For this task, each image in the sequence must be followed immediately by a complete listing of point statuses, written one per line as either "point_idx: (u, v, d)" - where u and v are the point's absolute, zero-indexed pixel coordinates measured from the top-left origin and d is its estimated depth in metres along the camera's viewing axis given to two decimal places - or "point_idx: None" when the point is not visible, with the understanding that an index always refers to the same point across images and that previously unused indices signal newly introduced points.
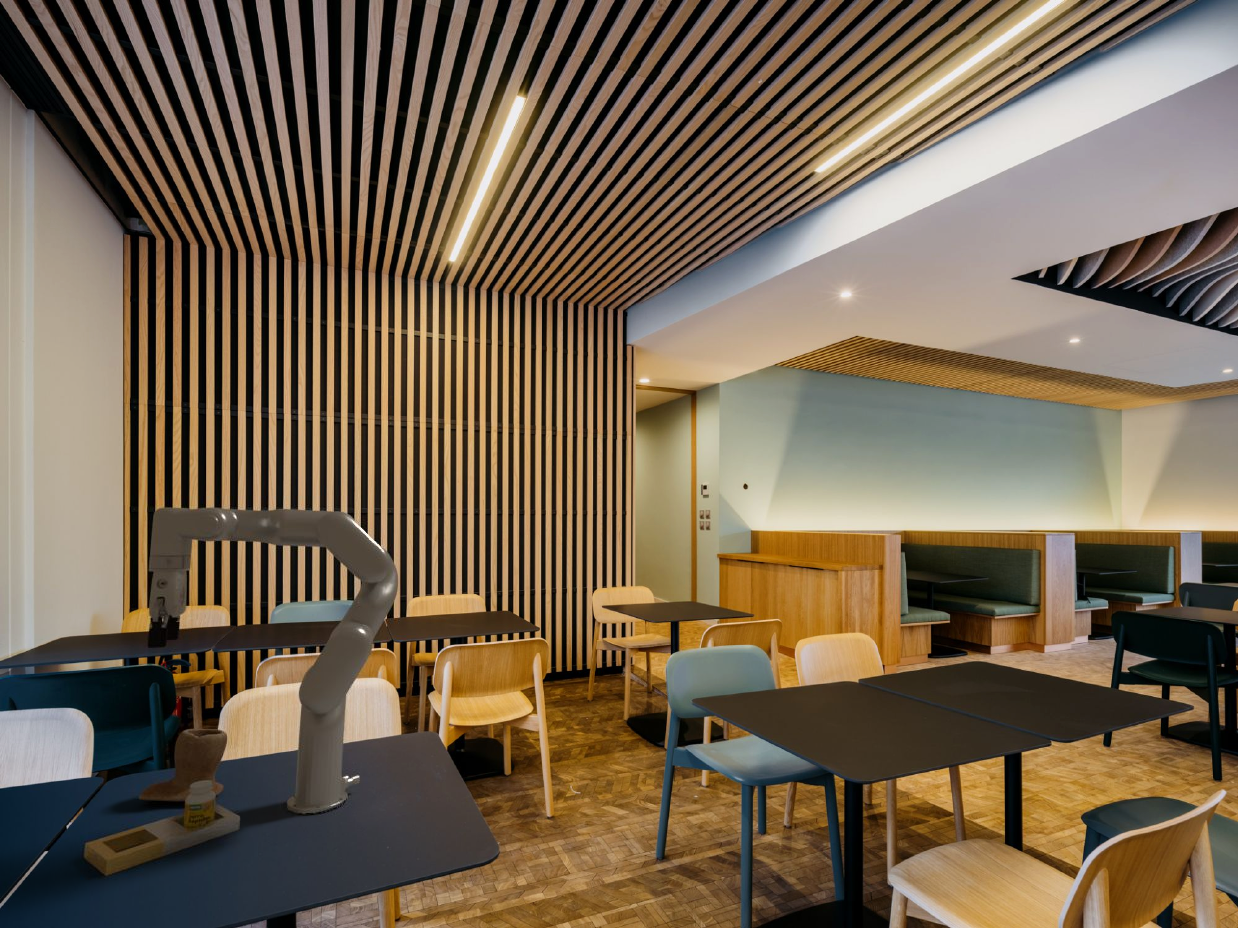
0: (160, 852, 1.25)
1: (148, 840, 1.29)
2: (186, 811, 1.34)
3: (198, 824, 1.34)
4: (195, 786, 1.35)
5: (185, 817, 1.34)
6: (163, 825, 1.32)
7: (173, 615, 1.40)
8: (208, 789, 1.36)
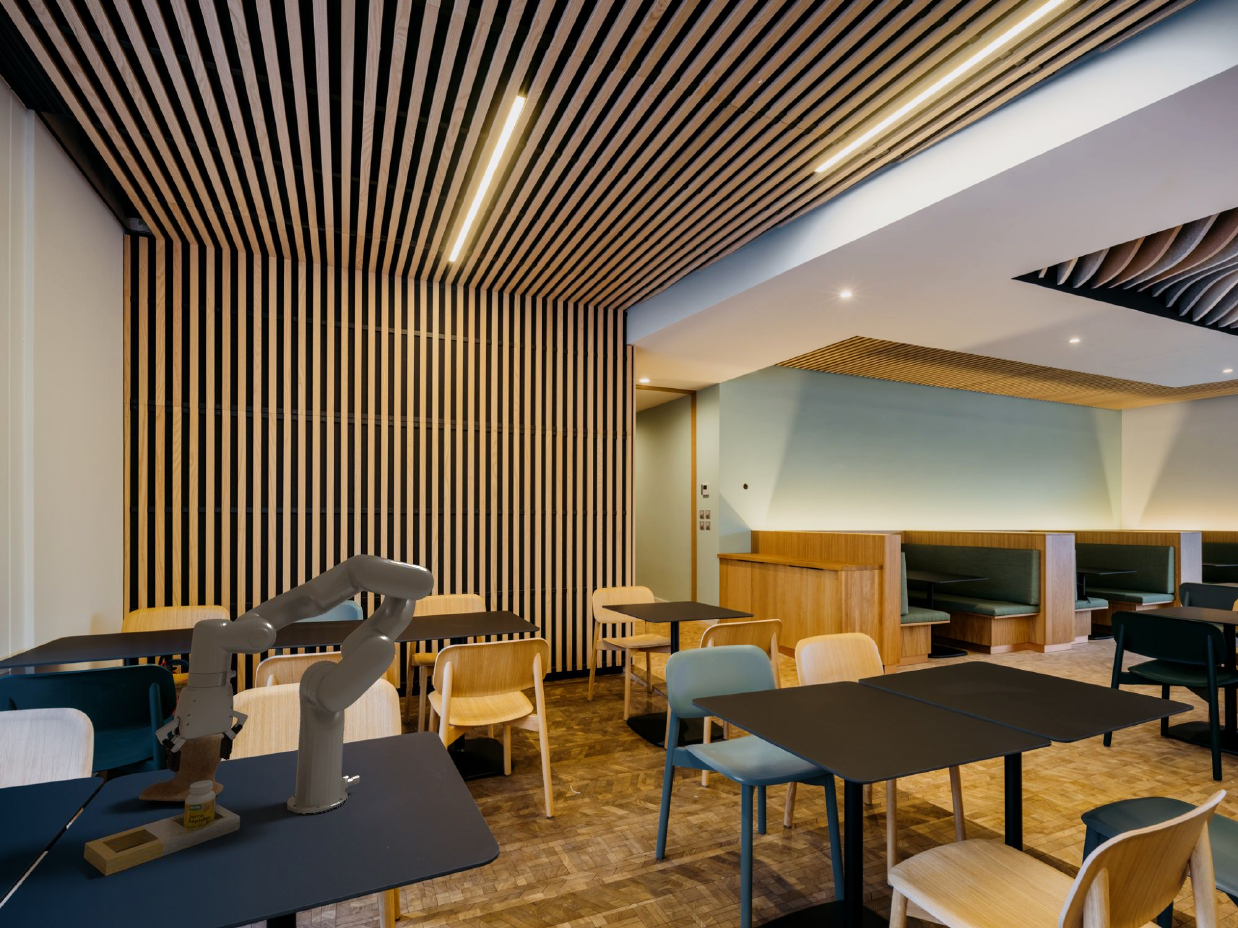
0: (160, 852, 1.25)
1: (148, 840, 1.29)
2: (186, 811, 1.34)
3: (198, 824, 1.34)
4: (195, 786, 1.35)
5: (185, 817, 1.34)
6: (163, 825, 1.32)
7: None
8: (208, 789, 1.36)
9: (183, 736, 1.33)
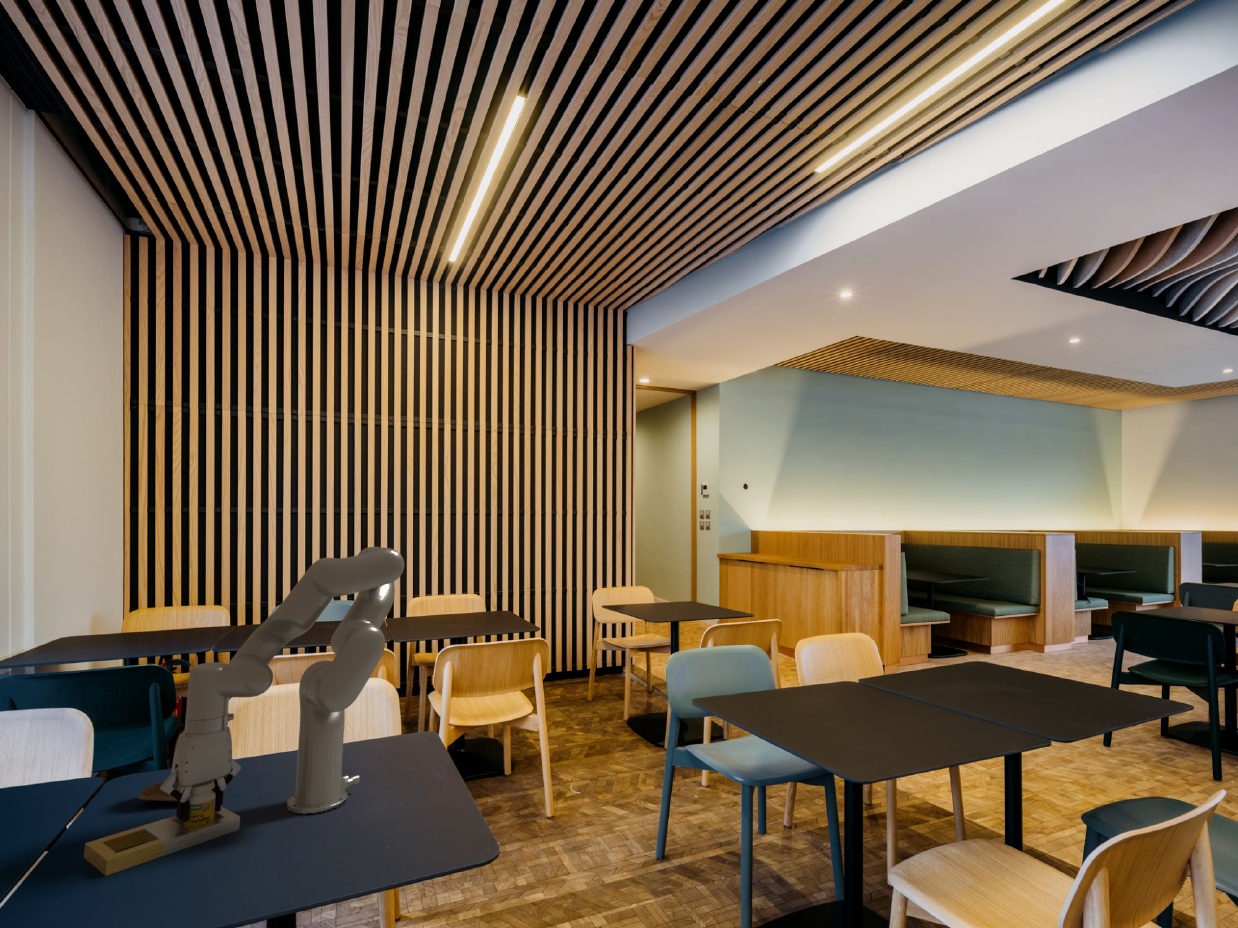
0: (160, 852, 1.25)
1: (148, 840, 1.29)
2: None
3: (198, 824, 1.34)
4: (195, 786, 1.35)
5: None
6: (163, 825, 1.32)
7: None
8: (208, 789, 1.36)
9: (182, 784, 1.32)
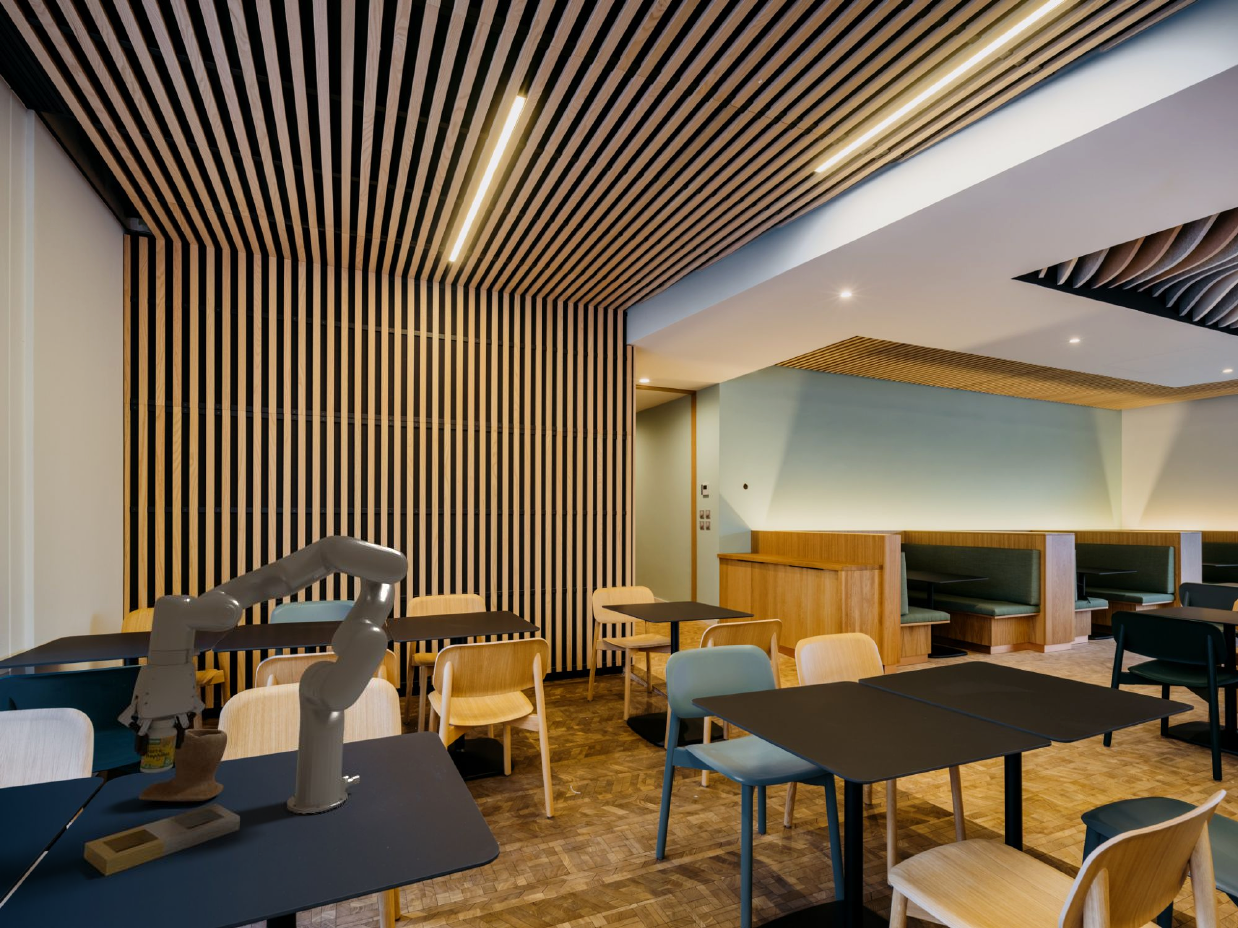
0: (160, 852, 1.25)
1: (148, 840, 1.29)
2: None
3: (156, 759, 1.28)
4: (156, 720, 1.30)
5: None
6: (163, 825, 1.32)
7: None
8: (169, 724, 1.31)
9: (141, 715, 1.27)
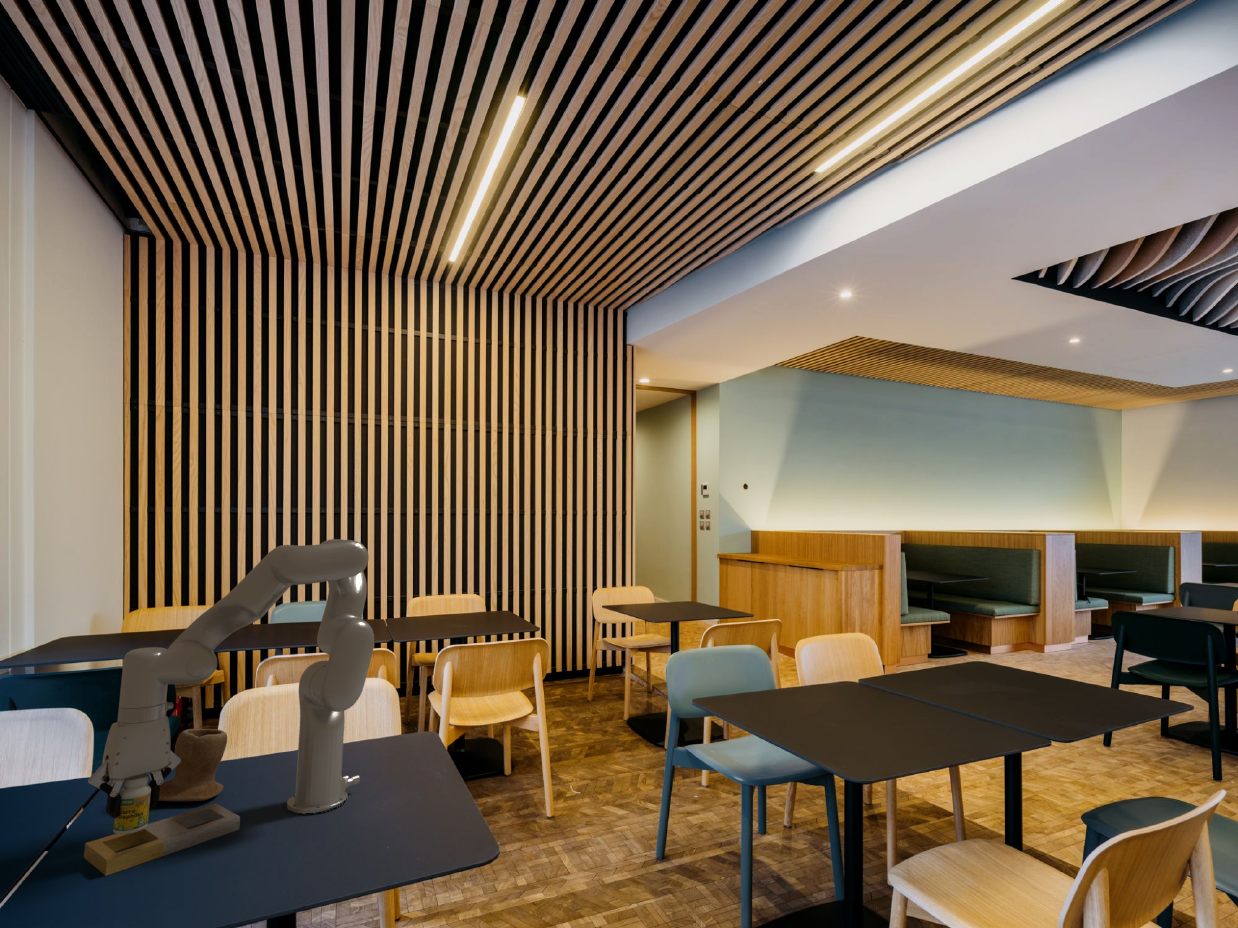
0: (160, 852, 1.25)
1: (148, 840, 1.29)
2: None
3: (129, 820, 1.24)
4: (128, 779, 1.26)
5: None
6: (163, 825, 1.32)
7: None
8: (143, 783, 1.26)
9: (112, 776, 1.23)
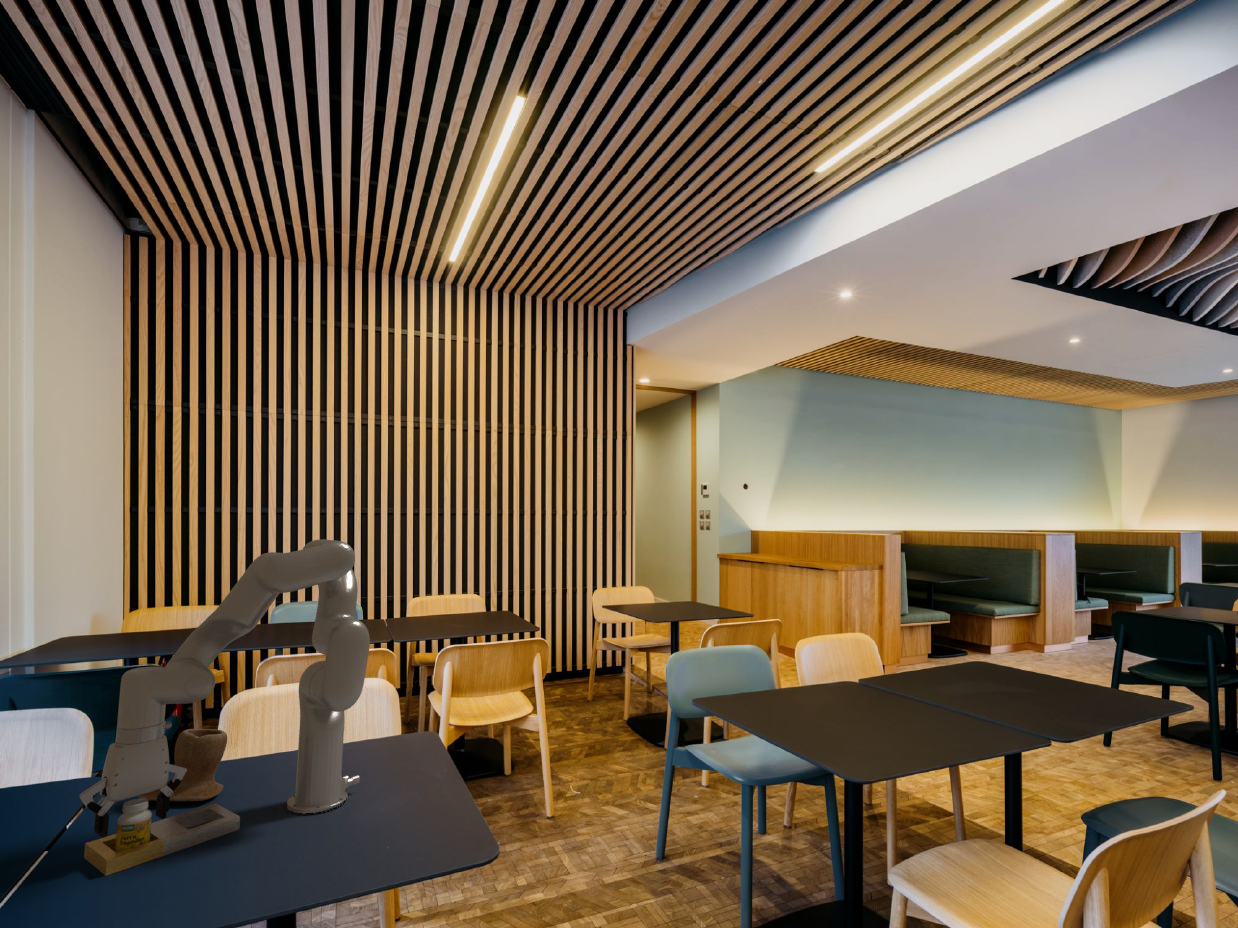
0: (160, 852, 1.25)
1: None
2: (118, 832, 1.24)
3: (131, 846, 1.24)
4: (128, 804, 1.26)
5: (117, 838, 1.24)
6: (163, 825, 1.32)
7: None
8: (143, 808, 1.26)
9: (111, 798, 1.22)
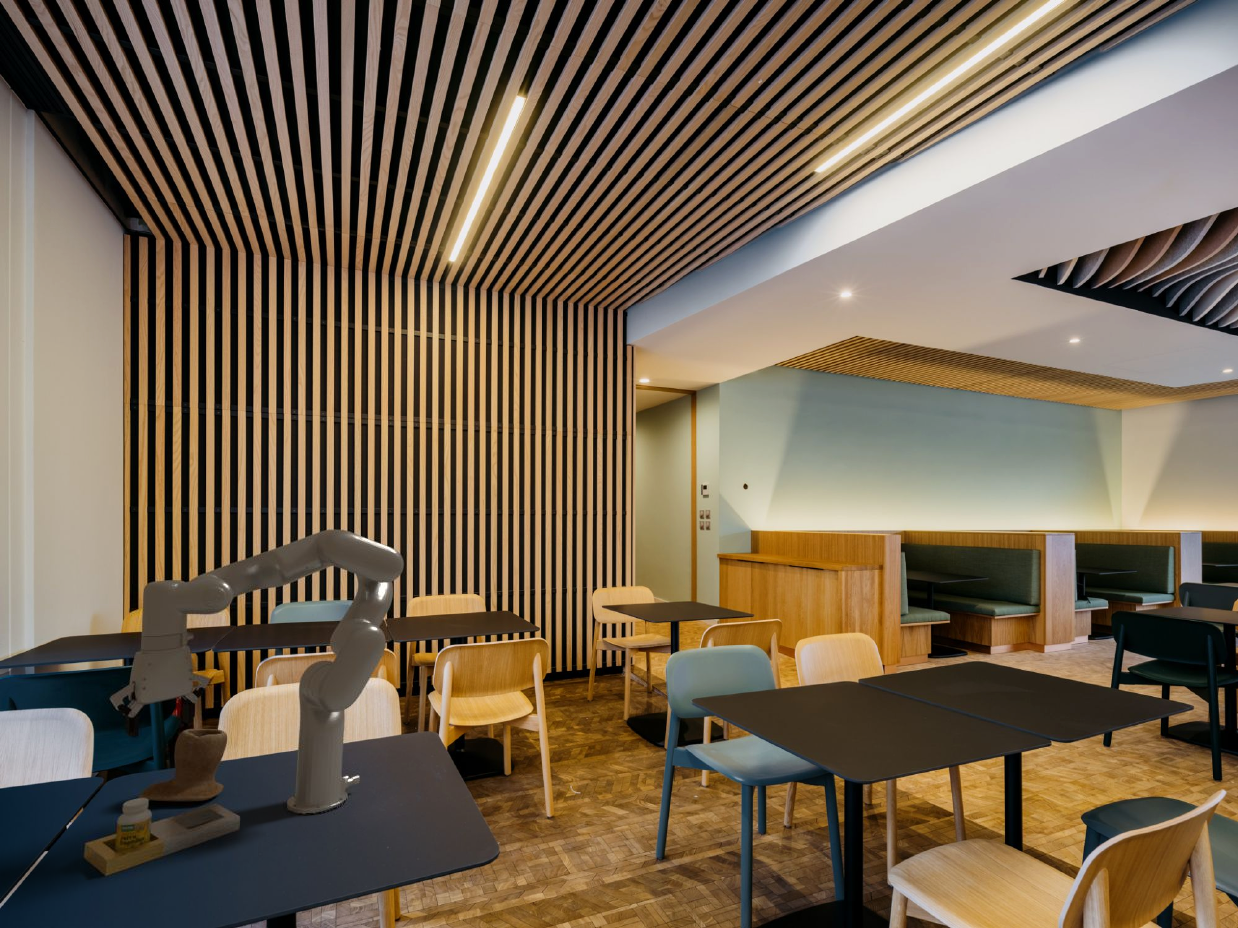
0: (160, 852, 1.25)
1: None
2: (118, 832, 1.24)
3: (131, 846, 1.24)
4: (128, 804, 1.26)
5: (117, 838, 1.24)
6: (163, 825, 1.32)
7: None
8: (143, 808, 1.26)
9: (140, 701, 1.28)
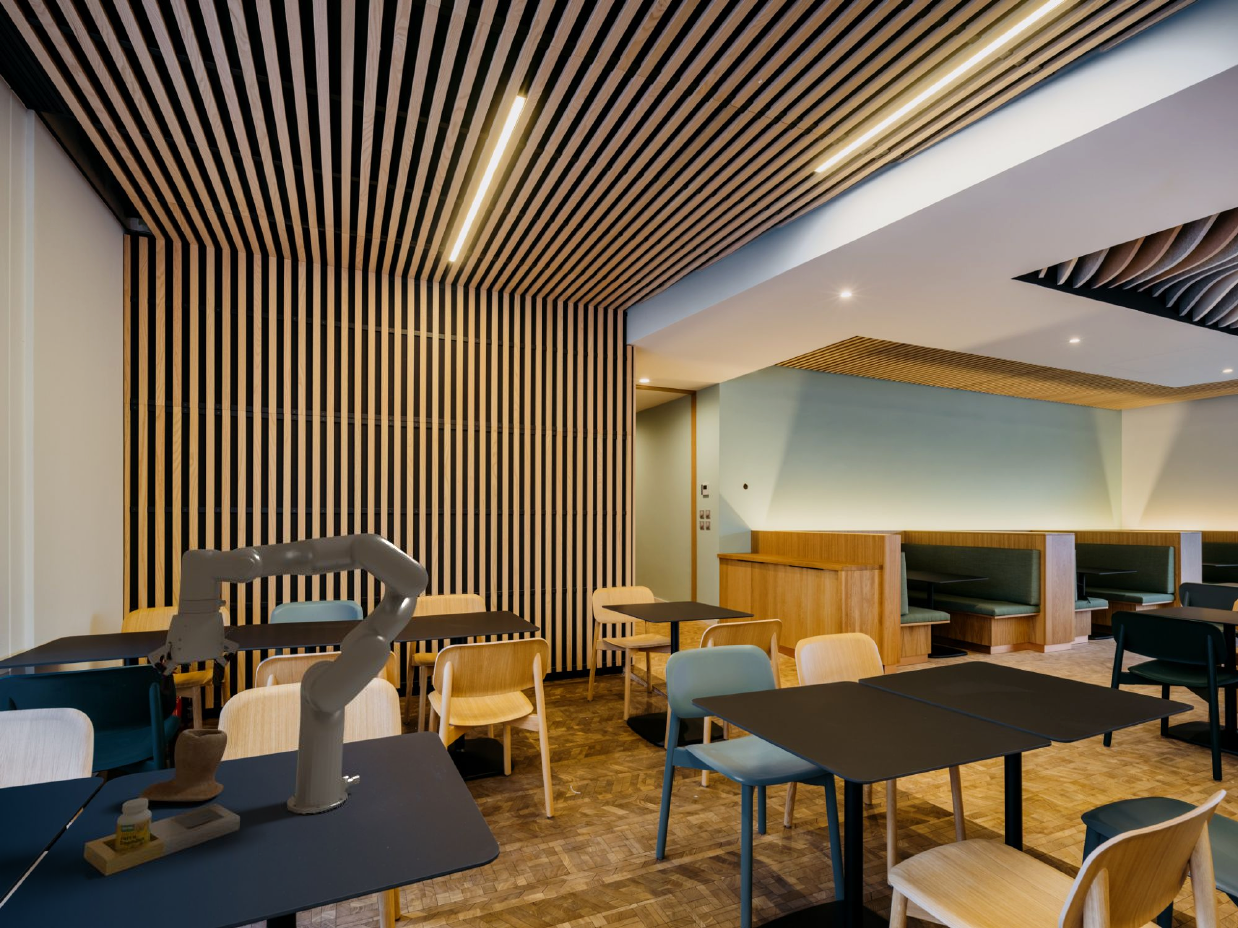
0: (160, 852, 1.25)
1: None
2: (118, 832, 1.24)
3: (130, 846, 1.24)
4: (128, 804, 1.26)
5: (117, 839, 1.24)
6: (163, 825, 1.32)
7: None
8: (142, 808, 1.26)
9: (175, 660, 1.35)
